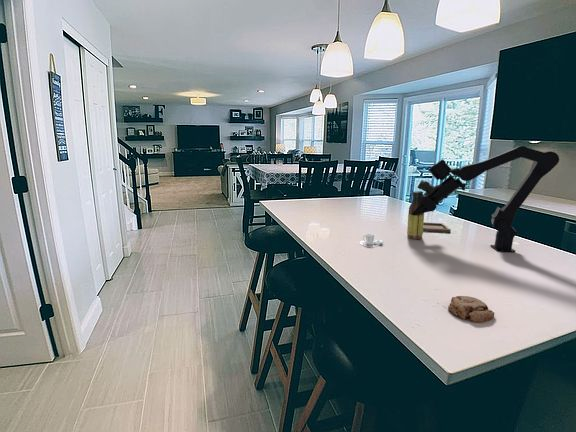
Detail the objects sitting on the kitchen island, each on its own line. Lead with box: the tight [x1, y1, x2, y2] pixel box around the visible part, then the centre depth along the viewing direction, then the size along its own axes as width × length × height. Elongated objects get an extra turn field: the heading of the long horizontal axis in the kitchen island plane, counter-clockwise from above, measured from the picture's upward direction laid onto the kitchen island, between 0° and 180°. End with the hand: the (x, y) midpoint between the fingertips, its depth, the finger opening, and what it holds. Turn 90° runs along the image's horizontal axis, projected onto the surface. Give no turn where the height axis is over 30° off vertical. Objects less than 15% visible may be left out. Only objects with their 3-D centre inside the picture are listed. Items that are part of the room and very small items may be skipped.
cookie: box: [447, 295, 495, 323], centre depth 82 cm, size 10×11×3 cm
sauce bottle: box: [406, 190, 425, 240], centre depth 142 cm, size 7×6×20 cm
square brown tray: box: [423, 221, 451, 234], centre depth 160 cm, size 12×12×2 cm
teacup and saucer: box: [359, 233, 384, 248], centre depth 134 cm, size 9×8×4 cm
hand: (413, 213), depth 142 cm, fingers closed on sauce bottle, 6 cm apart
